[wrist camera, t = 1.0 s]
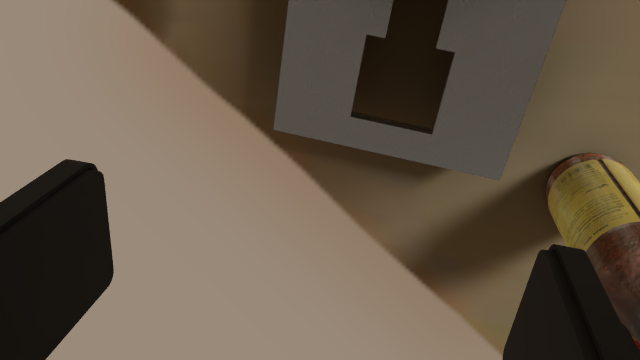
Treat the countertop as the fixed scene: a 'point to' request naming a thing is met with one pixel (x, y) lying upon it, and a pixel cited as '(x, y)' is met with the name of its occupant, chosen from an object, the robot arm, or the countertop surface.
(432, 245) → the countertop surface
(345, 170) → the countertop surface
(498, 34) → the slotted grey box
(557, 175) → the sauce bottle
